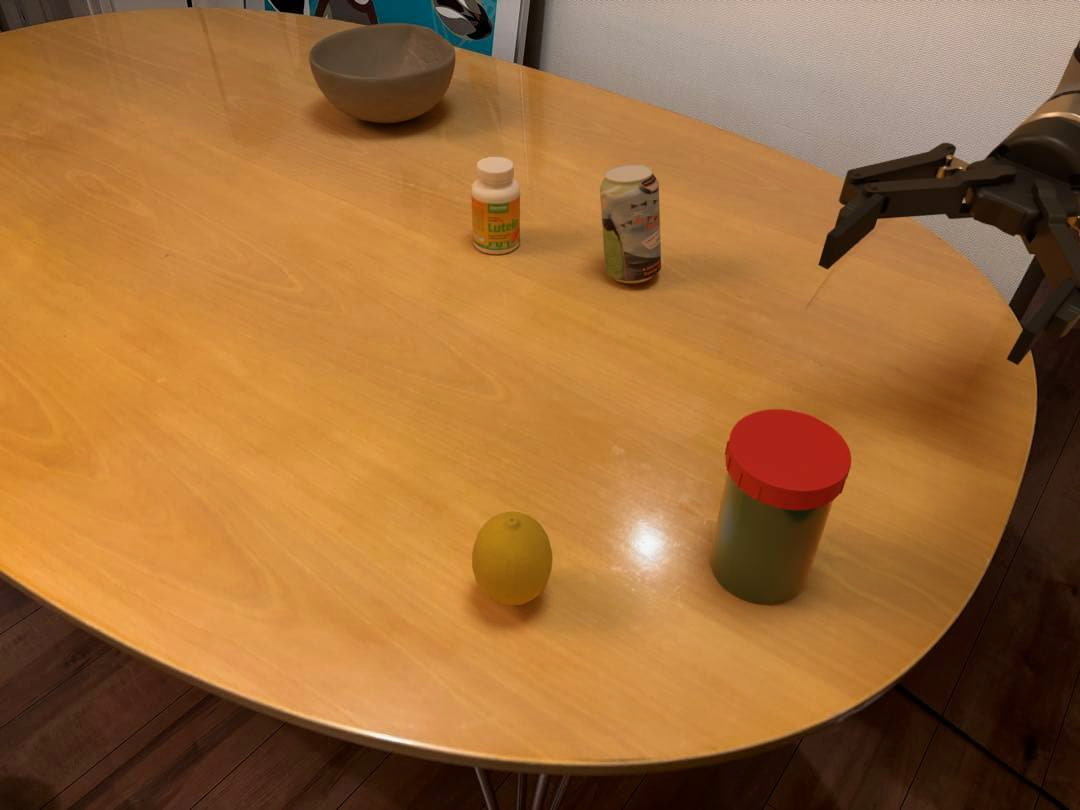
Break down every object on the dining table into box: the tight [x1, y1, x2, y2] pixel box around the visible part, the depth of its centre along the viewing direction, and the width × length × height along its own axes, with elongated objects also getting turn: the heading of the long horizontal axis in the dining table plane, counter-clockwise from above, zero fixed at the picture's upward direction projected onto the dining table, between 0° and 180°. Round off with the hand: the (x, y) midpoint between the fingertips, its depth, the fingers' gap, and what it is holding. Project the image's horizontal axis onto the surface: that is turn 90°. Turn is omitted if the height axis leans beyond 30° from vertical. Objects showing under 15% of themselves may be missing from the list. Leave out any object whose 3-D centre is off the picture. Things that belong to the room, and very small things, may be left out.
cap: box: [724, 408, 852, 510], centre depth 59 cm, size 8×8×2 cm
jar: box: [709, 471, 834, 606], centre depth 62 cm, size 7×7×12 cm
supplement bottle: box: [470, 156, 521, 255], centre depth 98 cm, size 5×5×10 cm
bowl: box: [308, 22, 457, 124], centre depth 126 cm, size 20×20×10 cm
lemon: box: [471, 511, 553, 606], centre depth 61 cm, size 6×6×8 cm
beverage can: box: [599, 163, 662, 284], centre depth 93 cm, size 6×7×12 cm
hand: (918, 297), depth 58 cm, fingers open, 13 cm apart
